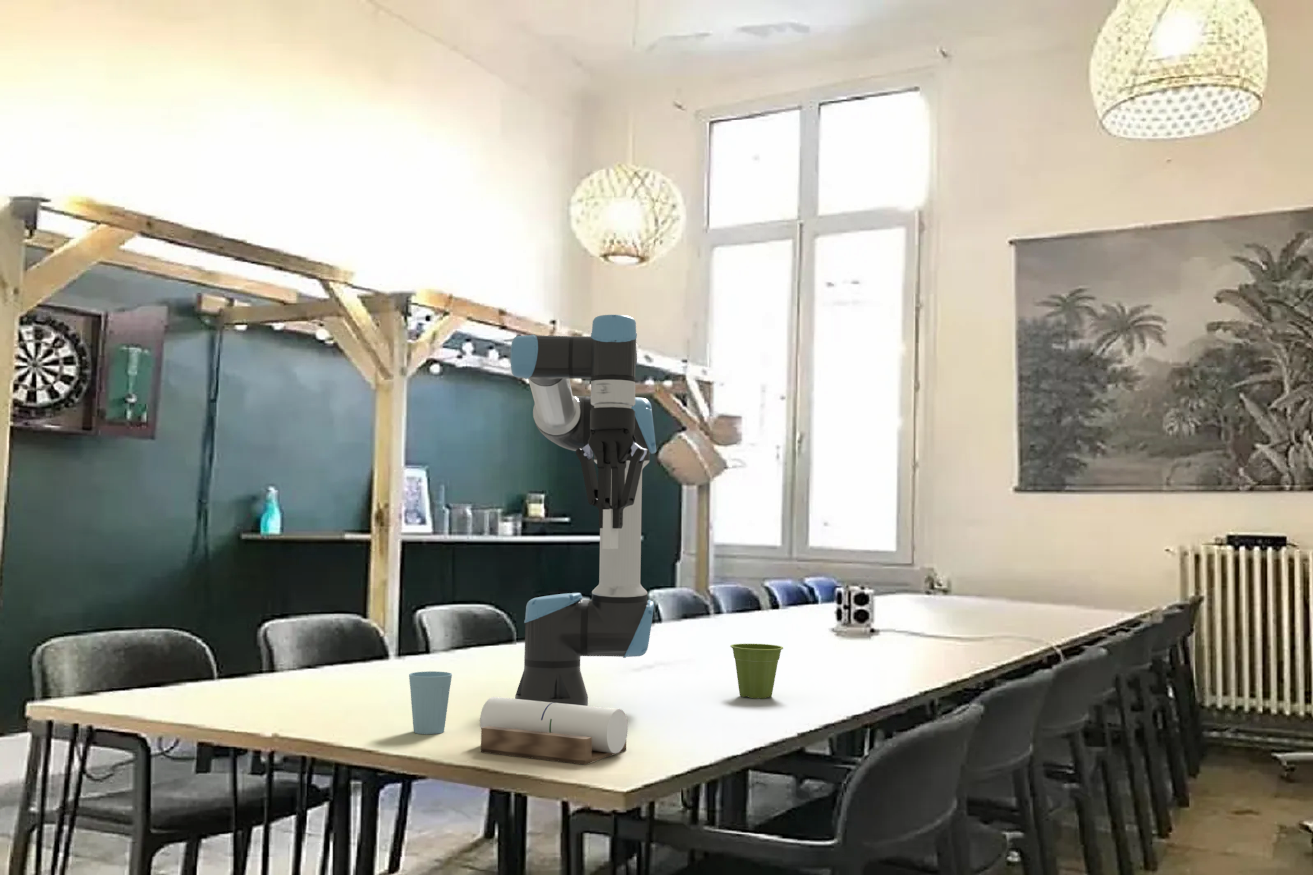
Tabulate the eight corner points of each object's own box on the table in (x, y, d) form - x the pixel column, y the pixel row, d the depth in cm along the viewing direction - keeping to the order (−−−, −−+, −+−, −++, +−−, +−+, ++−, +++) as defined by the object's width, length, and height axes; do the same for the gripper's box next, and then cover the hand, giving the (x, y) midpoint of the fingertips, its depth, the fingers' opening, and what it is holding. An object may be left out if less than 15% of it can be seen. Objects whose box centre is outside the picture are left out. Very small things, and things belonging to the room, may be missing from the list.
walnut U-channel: (480, 752, 197) (481, 727, 197) (526, 739, 209) (526, 716, 209) (585, 764, 188) (585, 739, 188) (626, 750, 200) (626, 726, 201)
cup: (448, 735, 211) (449, 676, 212) (404, 735, 211) (406, 676, 212) (452, 728, 219) (454, 671, 220) (410, 728, 218) (412, 671, 219)
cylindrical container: (614, 701, 194) (489, 689, 206) (602, 742, 190) (475, 728, 202) (631, 720, 199) (508, 707, 211) (620, 760, 195) (494, 745, 207)
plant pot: (749, 702, 257) (750, 649, 257) (719, 694, 267) (720, 644, 268) (793, 698, 262) (793, 647, 263) (762, 691, 273) (762, 642, 274)
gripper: (567, 406, 198) (564, 548, 196) (636, 404, 192) (634, 550, 191) (589, 410, 205) (587, 547, 203) (657, 408, 199) (655, 549, 197)
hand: (610, 548), depth 197 cm, fingers closed
